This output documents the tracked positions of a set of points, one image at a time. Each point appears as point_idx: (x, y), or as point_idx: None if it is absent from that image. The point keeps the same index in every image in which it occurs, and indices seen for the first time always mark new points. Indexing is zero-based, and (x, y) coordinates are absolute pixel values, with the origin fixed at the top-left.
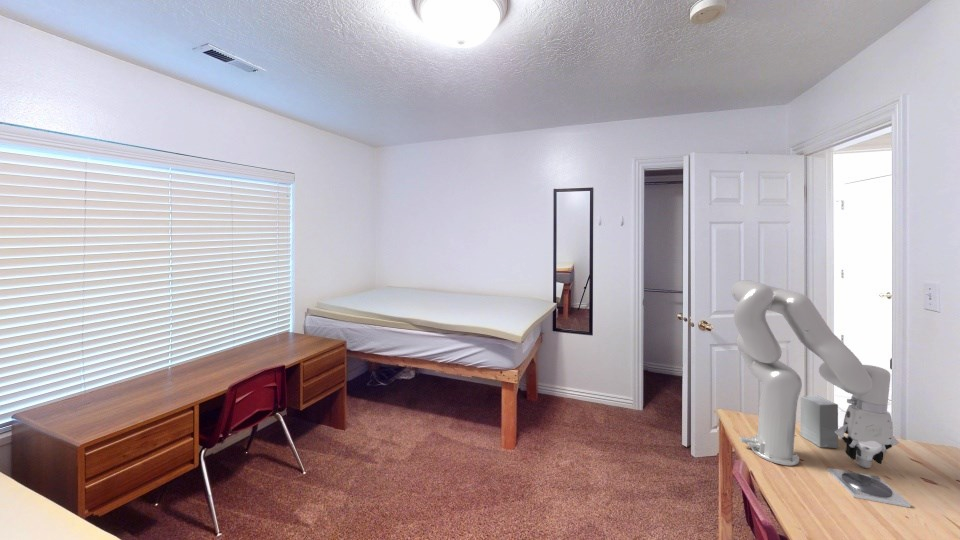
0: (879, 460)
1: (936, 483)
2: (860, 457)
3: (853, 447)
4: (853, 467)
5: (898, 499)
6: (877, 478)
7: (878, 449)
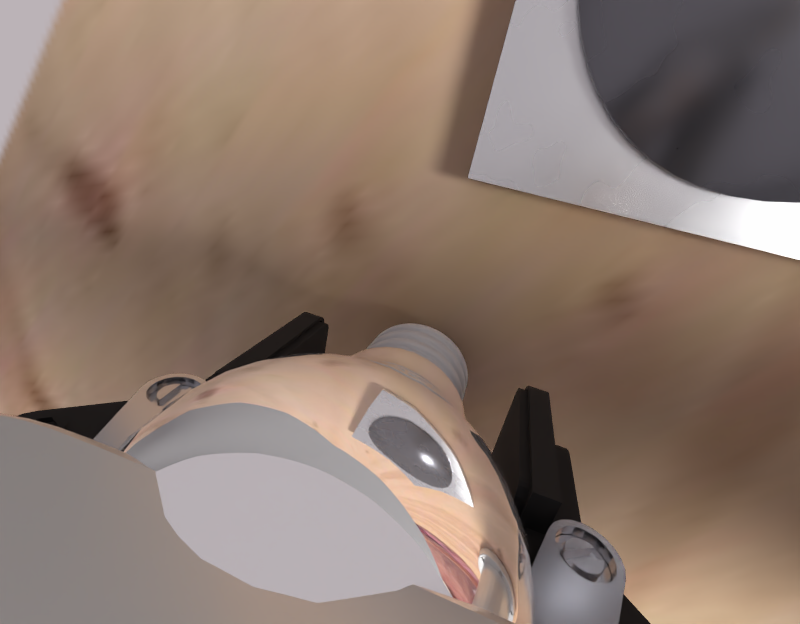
0: (304, 332)
1: (65, 172)
2: (459, 397)
3: (553, 518)
4: (519, 353)
5: None
6: (513, 132)
7: (269, 372)
